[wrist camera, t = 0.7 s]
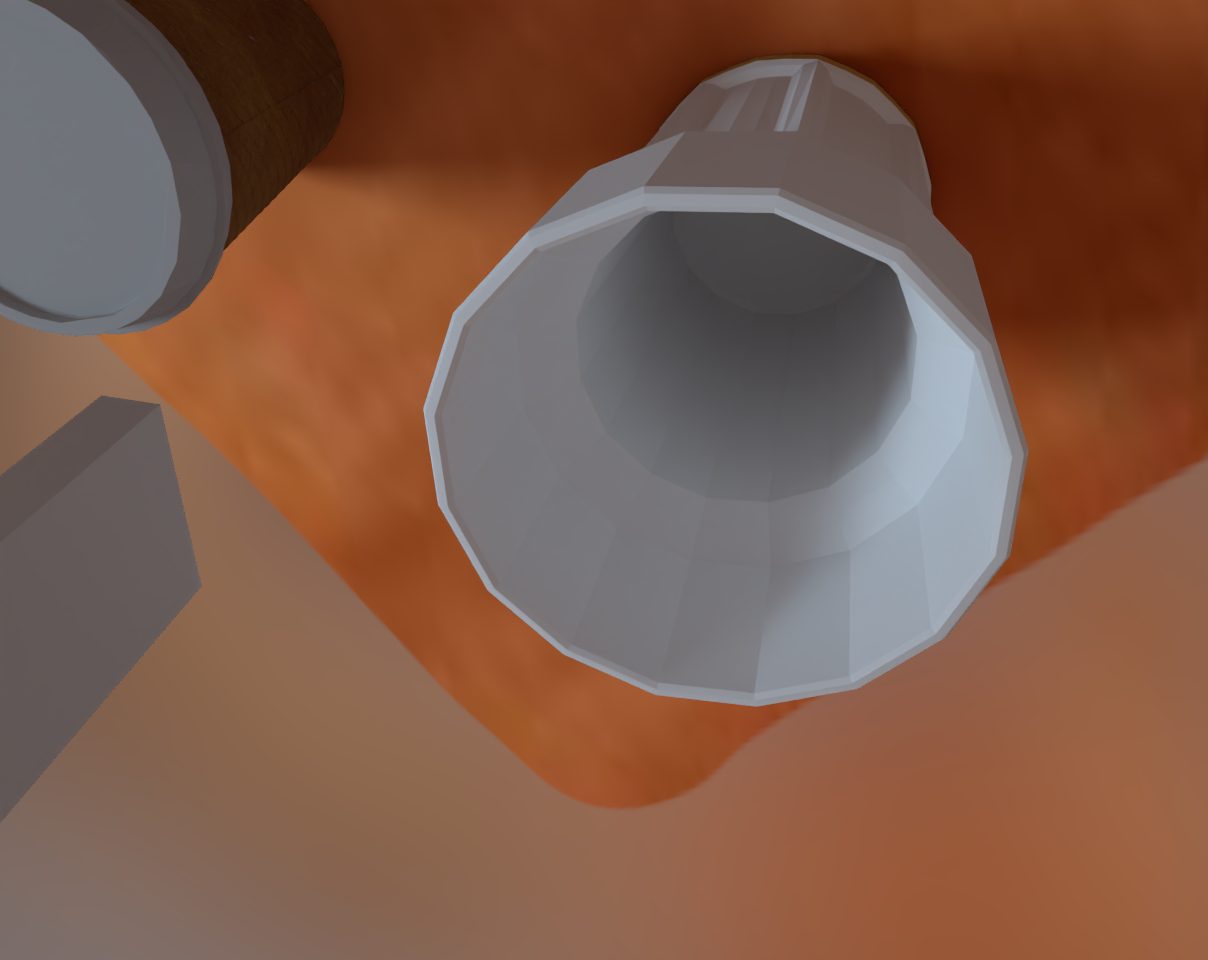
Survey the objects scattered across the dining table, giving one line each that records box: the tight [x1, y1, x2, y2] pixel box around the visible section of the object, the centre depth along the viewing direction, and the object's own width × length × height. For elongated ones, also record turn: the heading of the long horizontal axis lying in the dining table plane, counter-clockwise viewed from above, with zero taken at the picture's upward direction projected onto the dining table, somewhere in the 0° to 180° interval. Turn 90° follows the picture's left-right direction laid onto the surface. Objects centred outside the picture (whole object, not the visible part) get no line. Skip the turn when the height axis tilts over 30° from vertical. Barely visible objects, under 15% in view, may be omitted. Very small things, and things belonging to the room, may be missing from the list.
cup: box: [423, 54, 1029, 707], centre depth 27 cm, size 11×11×17 cm
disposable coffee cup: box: [0, 0, 344, 336], centre depth 31 cm, size 10×10×12 cm
